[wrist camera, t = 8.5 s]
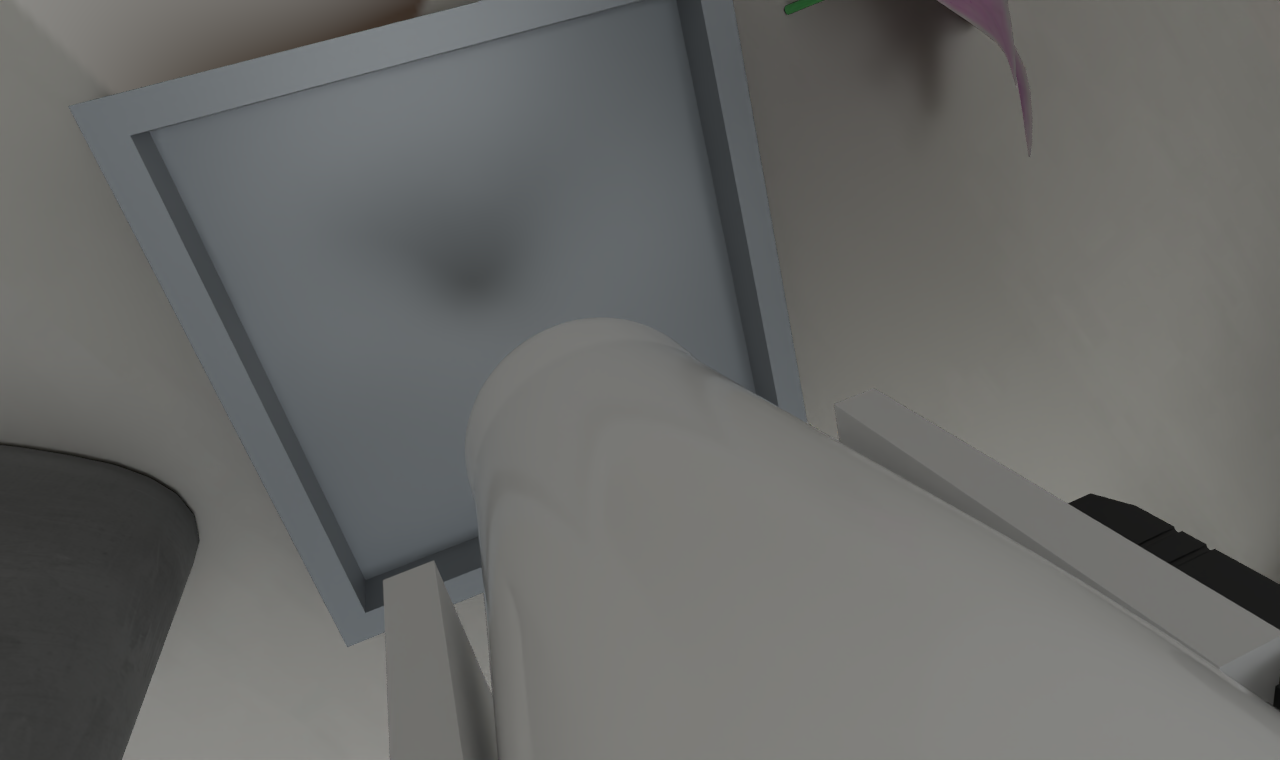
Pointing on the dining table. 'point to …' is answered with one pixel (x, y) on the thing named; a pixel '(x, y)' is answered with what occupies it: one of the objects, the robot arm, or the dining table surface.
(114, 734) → the flask
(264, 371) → the tray
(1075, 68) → the dining table surface
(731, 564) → the drinking glass
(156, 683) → the dining table surface
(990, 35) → the lily
